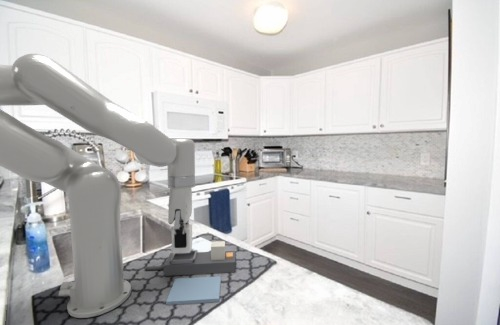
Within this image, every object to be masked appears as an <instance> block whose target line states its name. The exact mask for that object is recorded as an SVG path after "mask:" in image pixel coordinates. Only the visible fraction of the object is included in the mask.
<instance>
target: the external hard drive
mask: <svg viewBox="0 0 500 325" xmlns="http://www.w3.org/2000/svg"><path fill="white" fill-rule="evenodd" d="M212 242H213V241H211V240H208V239H206V238H204V237H201V236H199V237H197V238H192V249H191V250H197V252H211V244H212Z"/></svg>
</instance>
